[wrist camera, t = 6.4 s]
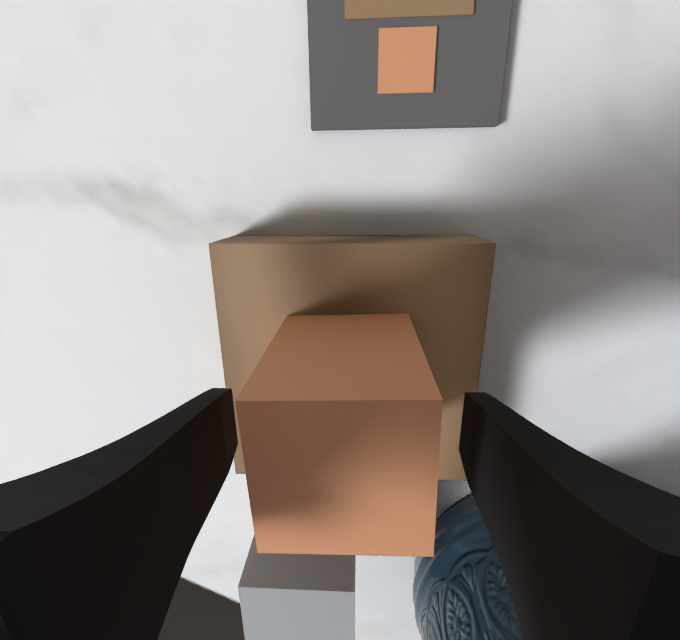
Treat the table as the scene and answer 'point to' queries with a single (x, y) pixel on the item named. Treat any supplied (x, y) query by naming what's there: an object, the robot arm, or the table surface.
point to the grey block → (297, 596)
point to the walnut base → (359, 303)
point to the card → (406, 63)
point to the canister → (463, 583)
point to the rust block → (342, 438)
